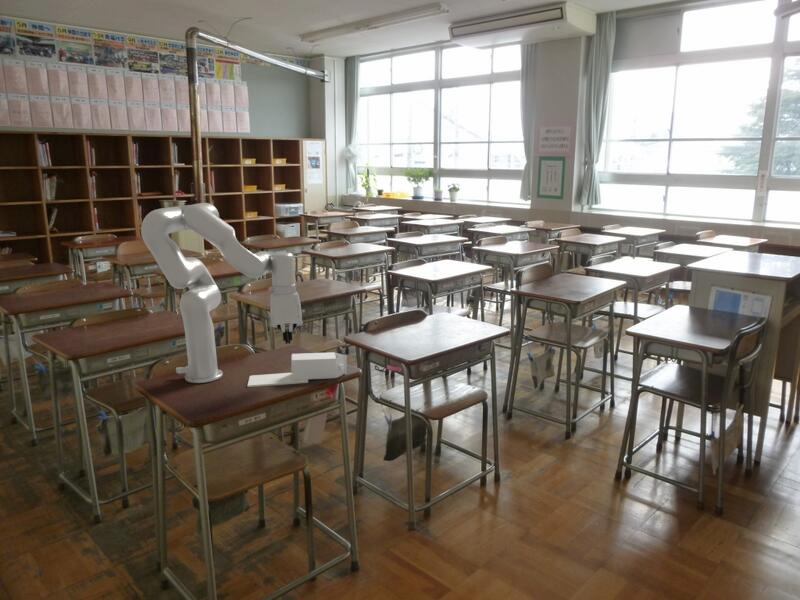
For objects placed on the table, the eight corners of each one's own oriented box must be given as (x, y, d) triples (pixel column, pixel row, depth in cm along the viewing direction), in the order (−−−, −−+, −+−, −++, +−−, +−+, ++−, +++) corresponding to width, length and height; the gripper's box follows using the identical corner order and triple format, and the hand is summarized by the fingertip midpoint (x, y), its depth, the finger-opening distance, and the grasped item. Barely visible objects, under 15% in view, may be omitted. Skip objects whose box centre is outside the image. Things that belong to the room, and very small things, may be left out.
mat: (247, 387, 203) (247, 385, 203) (250, 377, 213) (249, 375, 213) (308, 382, 206) (308, 381, 206) (307, 373, 216) (307, 371, 216)
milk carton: (291, 353, 212) (345, 351, 215) (291, 373, 214) (345, 370, 217) (291, 360, 205) (347, 358, 209) (291, 380, 207) (347, 377, 210)
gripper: (260, 293, 199) (264, 347, 203) (307, 290, 201) (310, 344, 205) (262, 288, 206) (266, 341, 210) (307, 286, 208) (310, 338, 212)
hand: (288, 342), depth 207 cm, fingers closed
